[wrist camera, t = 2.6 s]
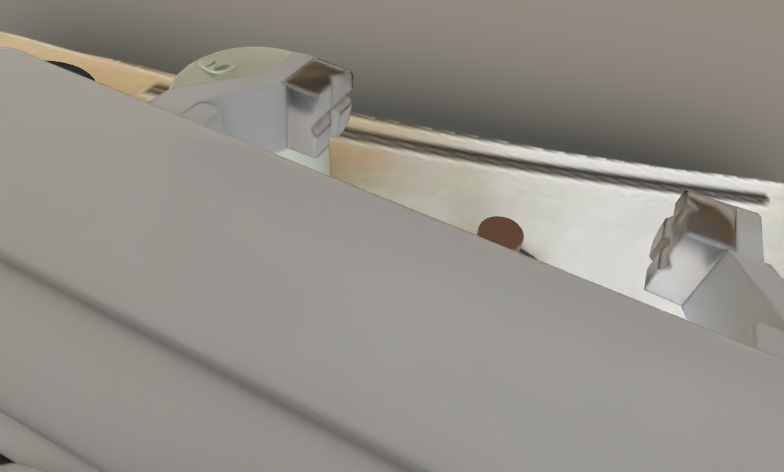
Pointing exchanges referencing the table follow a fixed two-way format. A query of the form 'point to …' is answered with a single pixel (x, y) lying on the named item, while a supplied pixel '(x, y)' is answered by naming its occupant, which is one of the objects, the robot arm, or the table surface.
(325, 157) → the can
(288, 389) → the robot arm
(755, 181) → the table surface
